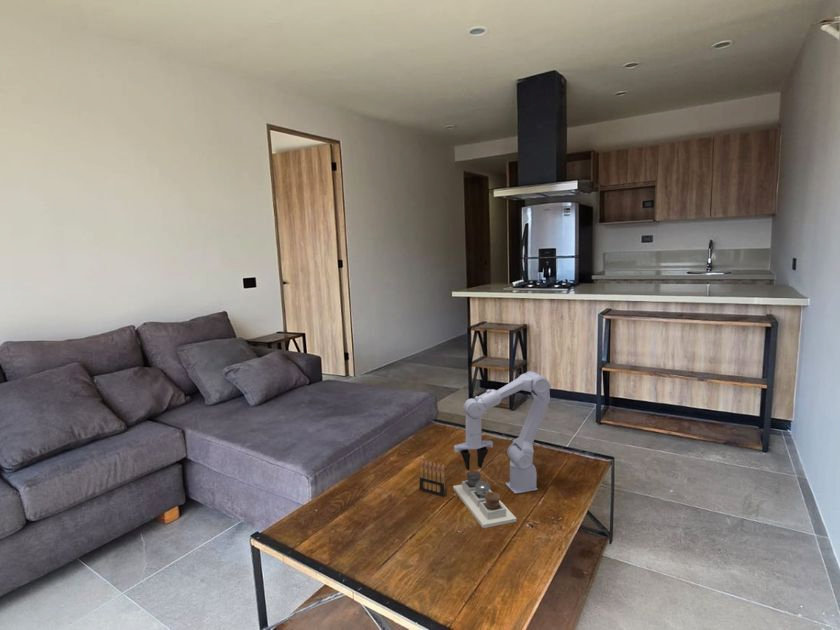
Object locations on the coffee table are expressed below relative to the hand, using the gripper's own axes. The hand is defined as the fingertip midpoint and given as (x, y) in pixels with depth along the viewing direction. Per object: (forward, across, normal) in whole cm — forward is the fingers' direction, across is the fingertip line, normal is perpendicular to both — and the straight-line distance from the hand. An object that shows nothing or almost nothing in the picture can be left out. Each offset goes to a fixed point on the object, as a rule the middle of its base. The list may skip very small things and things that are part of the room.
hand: (473, 467), depth 171 cm
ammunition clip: (+10, +14, -6) cm, 18 cm away
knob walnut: (+6, 0, +16) cm, 17 cm away
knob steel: (+6, 0, +8) cm, 10 cm away
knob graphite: (+6, 0, 0) cm, 6 cm away
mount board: (+10, 0, +8) cm, 13 cm away
